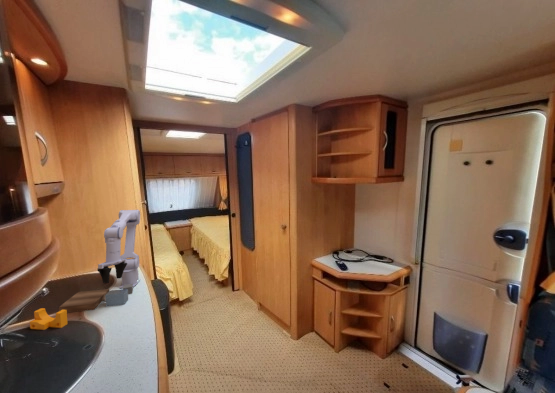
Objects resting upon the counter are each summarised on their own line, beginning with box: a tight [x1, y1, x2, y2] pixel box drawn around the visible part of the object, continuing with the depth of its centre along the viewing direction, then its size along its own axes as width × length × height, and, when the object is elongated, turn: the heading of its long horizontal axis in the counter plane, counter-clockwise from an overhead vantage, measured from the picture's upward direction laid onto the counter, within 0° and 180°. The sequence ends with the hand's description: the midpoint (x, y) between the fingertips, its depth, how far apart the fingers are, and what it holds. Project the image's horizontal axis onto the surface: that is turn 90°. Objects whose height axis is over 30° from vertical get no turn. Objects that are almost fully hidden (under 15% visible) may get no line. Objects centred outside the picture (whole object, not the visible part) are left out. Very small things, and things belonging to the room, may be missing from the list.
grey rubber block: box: [122, 284, 134, 295], centre depth 121 cm, size 4×4×4 cm
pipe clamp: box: [29, 307, 68, 331], centre depth 93 cm, size 12×4×6 cm, turn 85°
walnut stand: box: [58, 288, 110, 314], centre depth 111 cm, size 14×14×3 cm
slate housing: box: [103, 288, 129, 307], centre depth 111 cm, size 4×9×6 cm, turn 103°
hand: (112, 280), depth 107 cm, fingers open, 7 cm apart
